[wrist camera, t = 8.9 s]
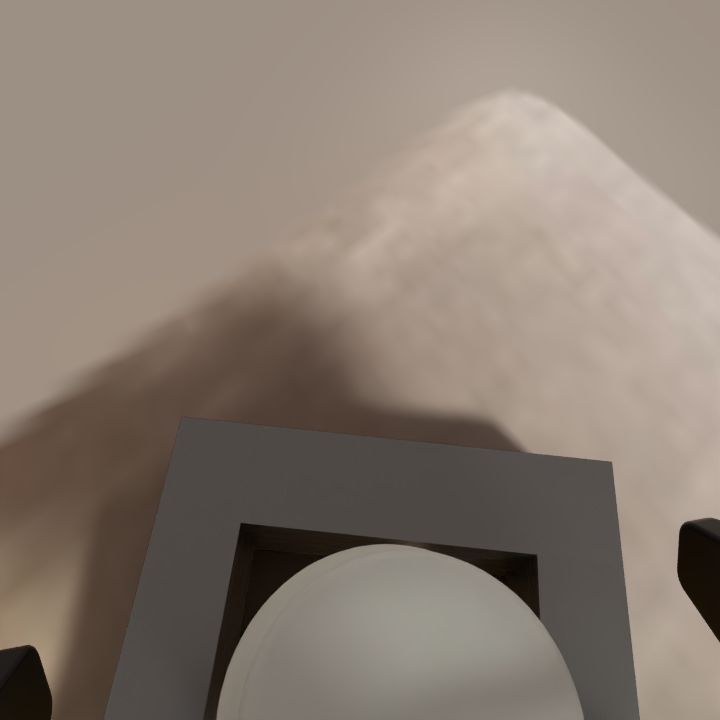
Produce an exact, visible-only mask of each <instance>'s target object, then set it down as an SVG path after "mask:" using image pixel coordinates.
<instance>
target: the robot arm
mask: <svg viewBox="0 0 720 720" xmlns="http://www.w3.org/2000/svg"><path fill="white" fill-rule="evenodd" d="M677 573H678V578H679V581H680V583H681V585H682V587H683V589H684V591H685V592H686V594H687V595H688V597H689V598H690V599H691V601H692V602H693V604H694V605H695V607H696V608H697V610H698V611H699V613H700V614H701V616H702V617H703V618H704V620H705V621H706V623H707V624H708V626H709V627H710V629H711V630H712V632H713V633H714V635H715V636H716V637H717V639H718V640H719V642H720V520H718V519H714V518H703V519H698V520H693V521H687V522H685V523H684V524H683V525H682V526H681V528H680V532H679V547H678V564H677ZM51 715H52V696H51V692H50V688H49V685H48V682H47V679H46V676H45V672H44V669H43V666H42V663H41V660H40V656H39V654H38V652H37V650H36V649H35V647H33V646H30V645H25V646H20V647H14V648H9V649H4V650H0V720H51Z"/></svg>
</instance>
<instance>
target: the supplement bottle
mask: <svg viewBox="0 0 720 720" xmlns="http://www.w3.org/2000/svg"><path fill="white" fill-rule="evenodd" d="M216 720H584V717H583V712H582V708H581V704H580V701H579V697H578V694H577V691H576V688H575V685H574V682H573V680H572V677H571V674H570V672H569V670H568V667H567V665H566V663H565V661H564V659H563V657H562V655H561V653H560V651H559V649H558V647H557V646H556V644H555V642H554V641H553V639H552V638H551V636H550V634H549V633H548V631H547V630H546V628H545V627H544V625H543V624H542V623H541V621H540V620H539V619H538V618H537V616H536V615H535V614H534V613H533V612H532V610H531V609H530V608H529V607H528V606H527V605H526V604H525V603H524V602H523V600H522V599H521V598H520V597H519V596H518V595H517V594H516V593H514V592H513V591H512V590H510V589H509V588H508V587H507V586H505V585H504V584H503V583H501V582H500V581H498V580H497V579H495V578H494V577H492V576H491V575H489V574H488V573H486V572H485V571H483V570H481V569H479V568H477V567H475V566H473V565H471V564H469V563H467V562H464V561H462V560H459V559H456V558H454V557H451V556H448V555H444V554H440V553H436V552H432V551H429V550H426V549H422V548H417V547H412V546H405V545H395V544H376V545H368V546H360V547H355V548H351V549H347V550H344V551H341V552H338V553H335V554H332V555H329V556H327V557H325V558H323V559H320V560H318V561H316V562H314V563H312V564H311V565H309V566H307V567H306V568H304V569H303V570H301V571H299V572H298V573H297V574H295V575H294V576H293V577H292V578H290V579H289V580H288V581H286V582H285V583H284V584H283V585H282V586H281V587H280V588H279V589H278V590H277V591H276V592H275V593H274V594H273V595H271V597H270V598H269V599H268V600H267V601H266V602H265V603H264V604H263V606H262V607H261V608H260V610H259V611H258V612H257V614H256V615H255V616H254V618H253V619H252V621H251V622H250V624H249V625H248V627H247V629H246V630H245V632H244V634H243V636H242V638H241V640H240V642H239V644H238V646H237V648H236V650H235V652H234V654H233V657H232V659H231V662H230V664H229V666H228V669H227V672H226V676H225V679H224V683H223V686H222V690H221V694H220V699H219V705H218V710H217V719H216Z"/></svg>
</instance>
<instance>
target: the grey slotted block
mask: <svg viewBox="0 0 720 720" xmlns="http://www.w3.org/2000/svg"><path fill="white" fill-rule="evenodd" d="M376 544H395V545H405V546H412V547H417V548H422V549H426V550H429V551H432V552H436V553H440V554H444V555H448V556H451V557H454V558H456V559H459V560H462V561H464V562H467V563H469V564H471V565H473V566H475V567H477V568H479V569H481V570H483V571H485V572H486V573H488V574H492V575H501V576H506V586H507V587H508V588H509V589H510V590H512V591H513V592H514V593H516V594H517V595H518V596H519V597H520V598H521V599H522V600H523V602H524V603H525V604H526V605H527V606H528V607H529V608H530V609H531V610H532V612H533V613H534V614H535V615H536V616H537V618H538V619H539V620H540V621H541V623H542V624H543V625H544V627H545V628H546V630H547V631H548V633H549V634H550V636H551V638H552V639H553V641H554V642H555V644H556V646H557V647H558V649H559V651H560V653H561V655H562V657H563V659H564V661H565V663H566V665H567V667H568V670H569V672H570V674H571V677H572V680H573V682H574V685H575V688H576V691H577V694H578V697H579V701H580V704H581V708H582V712H583V717H584V720H640V717H639V708H638V699H637V689H636V680H635V671H634V662H633V652H632V643H631V634H630V625H629V615H628V606H627V597H626V588H625V578H624V569H623V560H622V551H621V541H620V532H619V523H618V514H617V504H616V495H615V486H614V477H613V467H612V462H609V461H599V460H589V459H580V458H570V457H561V456H551V455H542V454H532V453H523V452H513V451H504V450H494V449H485V448H475V447H466V446H456V445H446V444H437V443H427V442H418V441H408V440H399V439H389V438H380V437H370V436H361V435H351V434H342V433H332V432H323V431H313V430H303V429H294V428H284V427H275V426H265V425H256V424H246V423H237V422H227V421H218V420H208V419H199V418H189V417H182V418H181V422H180V426H179V430H178V434H177V437H176V441H175V445H174V449H173V453H172V457H171V461H170V464H169V468H168V472H167V476H166V480H165V484H164V487H163V491H162V495H161V499H160V503H159V507H158V511H157V514H156V518H155V522H154V526H153V530H152V534H151V537H150V541H149V545H148V549H147V553H146V557H145V561H144V564H143V568H142V572H141V576H140V580H139V584H138V588H137V591H136V595H135V599H134V603H133V607H132V611H131V614H130V618H129V622H128V626H127V630H126V634H125V638H124V641H123V645H122V649H121V653H120V657H119V661H118V664H117V668H116V672H115V676H114V680H113V684H112V688H111V691H110V695H109V699H108V703H107V707H106V711H105V714H104V718H103V720H216V719H217V710H218V705H219V699H220V694H221V690H222V686H223V683H224V679H225V676H226V672H227V669H228V666H229V664H230V662H231V659H232V657H233V654H234V652H235V650H236V648H237V646H238V644H239V639H240V633H241V627H242V622H243V616H244V610H245V605H246V599H247V593H248V588H249V582H250V576H251V571H252V565H253V559H254V554H255V549H260V550H269V551H278V552H288V553H297V554H306V555H316V556H325V557H327V556H329V555H332V554H335V553H338V552H341V551H344V550H347V549H351V548H355V547H360V546H368V545H376Z"/></svg>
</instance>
